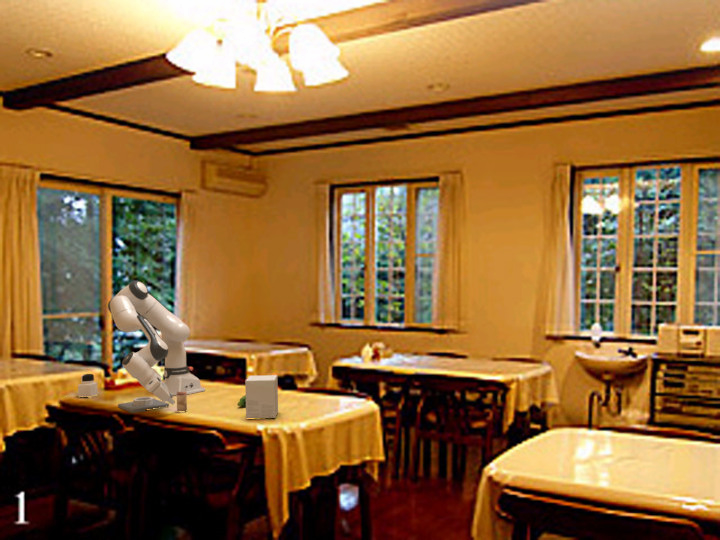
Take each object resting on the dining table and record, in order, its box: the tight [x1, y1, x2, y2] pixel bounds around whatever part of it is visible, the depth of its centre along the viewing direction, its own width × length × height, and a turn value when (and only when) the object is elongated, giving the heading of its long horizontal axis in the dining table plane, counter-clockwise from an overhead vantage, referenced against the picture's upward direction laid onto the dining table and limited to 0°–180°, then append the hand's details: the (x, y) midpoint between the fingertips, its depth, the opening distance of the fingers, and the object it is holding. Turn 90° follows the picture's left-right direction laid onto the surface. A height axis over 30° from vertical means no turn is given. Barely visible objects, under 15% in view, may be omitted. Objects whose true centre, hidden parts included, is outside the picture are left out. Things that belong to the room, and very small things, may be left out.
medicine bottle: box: [77, 373, 98, 397], centre depth 338 cm, size 7×7×12 cm
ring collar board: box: [117, 396, 170, 414], centre depth 311 cm, size 18×18×4 cm
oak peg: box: [176, 392, 188, 412], centre depth 299 cm, size 4×4×9 cm
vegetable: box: [236, 394, 246, 408], centre depth 313 cm, size 7×7×20 cm
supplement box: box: [244, 374, 279, 419], centre depth 288 cm, size 13×13×18 cm
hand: (173, 400), depth 300 cm, fingers open, 8 cm apart
